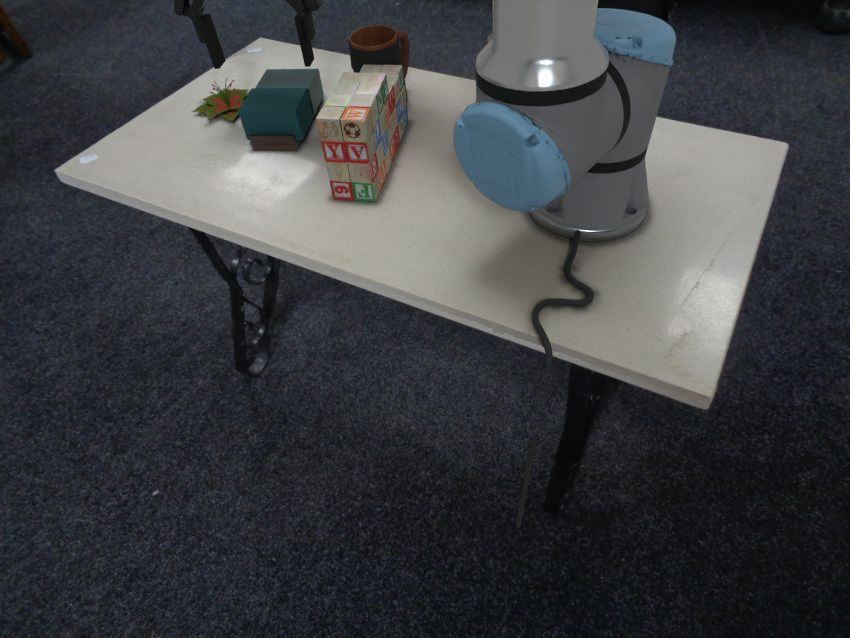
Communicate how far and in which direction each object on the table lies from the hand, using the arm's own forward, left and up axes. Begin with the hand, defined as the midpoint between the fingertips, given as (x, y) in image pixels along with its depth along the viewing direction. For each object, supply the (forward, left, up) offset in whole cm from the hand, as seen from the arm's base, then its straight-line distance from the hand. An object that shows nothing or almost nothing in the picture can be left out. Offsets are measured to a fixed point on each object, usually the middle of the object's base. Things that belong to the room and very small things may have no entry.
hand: (264, 64), depth 81 cm
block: (0, 0, -10) cm, 10 cm away
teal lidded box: (+4, 0, -11) cm, 12 cm away
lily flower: (+9, +12, -12) cm, 19 cm away
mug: (+10, -16, -11) cm, 22 cm away
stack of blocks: (-6, -16, -12) cm, 21 cm away
